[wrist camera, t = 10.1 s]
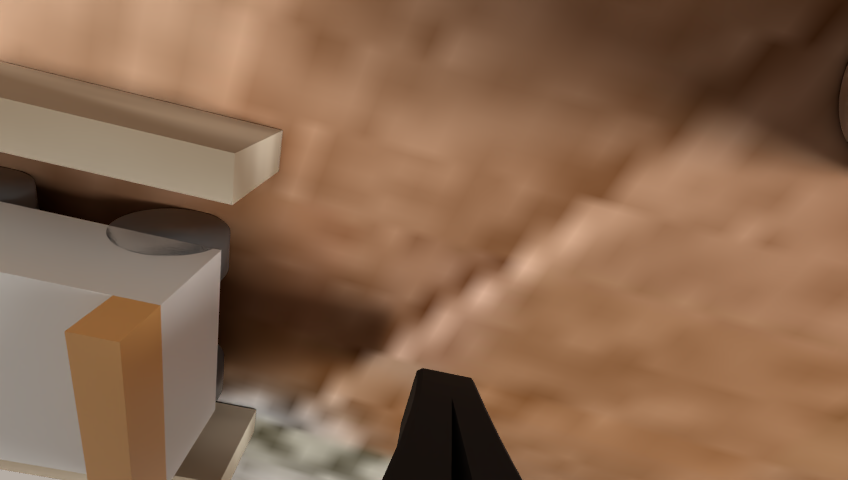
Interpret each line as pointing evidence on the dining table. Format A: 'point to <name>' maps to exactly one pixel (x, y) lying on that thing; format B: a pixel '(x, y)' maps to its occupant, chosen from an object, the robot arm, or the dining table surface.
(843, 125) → the soda can
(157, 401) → the trolley
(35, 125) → the dock
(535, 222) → the dining table surface
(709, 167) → the dining table surface
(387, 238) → the dining table surface
